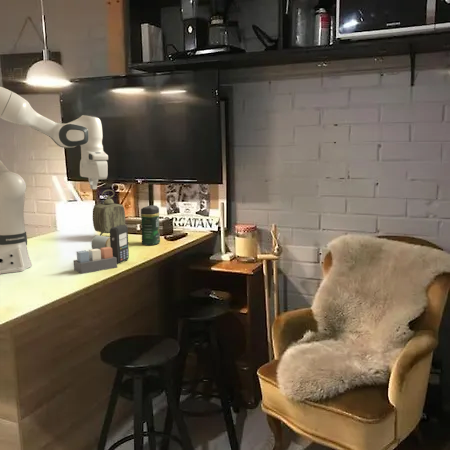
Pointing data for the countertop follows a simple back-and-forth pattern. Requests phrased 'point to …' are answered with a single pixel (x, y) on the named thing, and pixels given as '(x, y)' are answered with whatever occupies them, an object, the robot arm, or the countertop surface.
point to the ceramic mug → (100, 242)
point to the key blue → (82, 256)
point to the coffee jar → (150, 225)
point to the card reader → (119, 243)
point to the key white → (94, 254)
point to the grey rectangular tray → (95, 265)
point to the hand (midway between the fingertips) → (93, 189)
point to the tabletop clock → (108, 215)
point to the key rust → (106, 252)
